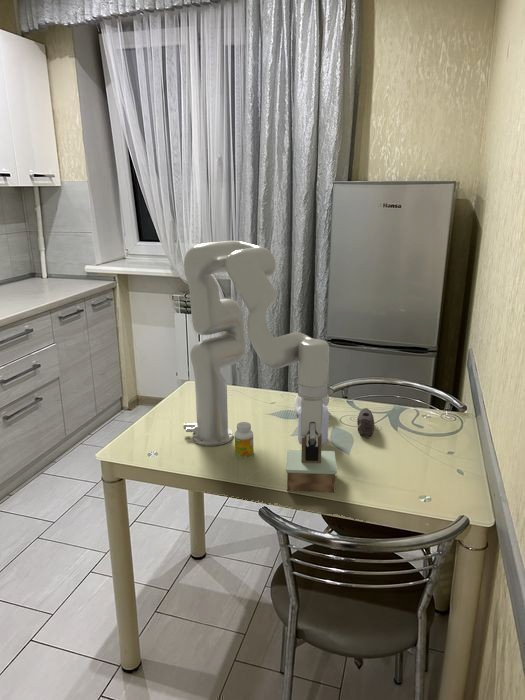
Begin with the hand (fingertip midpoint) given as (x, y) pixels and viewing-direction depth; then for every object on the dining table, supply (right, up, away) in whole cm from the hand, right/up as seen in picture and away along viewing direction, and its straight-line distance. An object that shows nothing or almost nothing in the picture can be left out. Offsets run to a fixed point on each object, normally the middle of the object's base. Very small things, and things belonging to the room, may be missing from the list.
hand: (311, 451), depth 136 cm
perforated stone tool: (+20, 0, +33) cm, 39 cm away
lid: (0, -3, +1) cm, 3 cm away
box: (0, -9, +3) cm, 9 cm away
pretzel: (+3, +4, +45) cm, 45 cm away
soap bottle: (+3, -2, +27) cm, 27 cm away
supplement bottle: (-18, -5, +18) cm, 25 cm away
